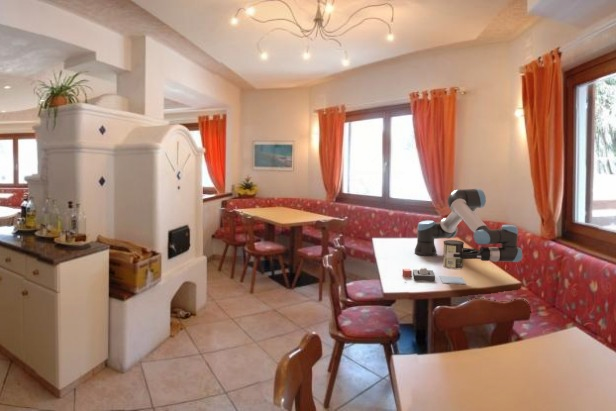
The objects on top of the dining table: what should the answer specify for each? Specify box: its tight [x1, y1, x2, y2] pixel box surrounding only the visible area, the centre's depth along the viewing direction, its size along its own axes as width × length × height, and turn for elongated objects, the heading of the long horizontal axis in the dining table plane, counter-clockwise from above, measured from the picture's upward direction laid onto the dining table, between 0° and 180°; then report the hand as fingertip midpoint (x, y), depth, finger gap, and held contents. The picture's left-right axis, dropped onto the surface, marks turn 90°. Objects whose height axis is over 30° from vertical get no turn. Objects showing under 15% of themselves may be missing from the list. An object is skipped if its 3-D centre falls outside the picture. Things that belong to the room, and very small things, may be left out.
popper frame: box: [412, 269, 436, 282], centre depth 201 cm, size 11×11×3 cm
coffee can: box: [442, 239, 465, 271], centre depth 194 cm, size 10×10×14 cm
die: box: [402, 268, 413, 279], centre depth 205 cm, size 4×4×4 cm
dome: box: [419, 267, 429, 275], centre depth 201 cm, size 5×5×5 cm
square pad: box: [438, 275, 467, 285], centre depth 196 cm, size 12×12×1 cm
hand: (444, 252), depth 195 cm, fingers closed on coffee can, 10 cm apart
